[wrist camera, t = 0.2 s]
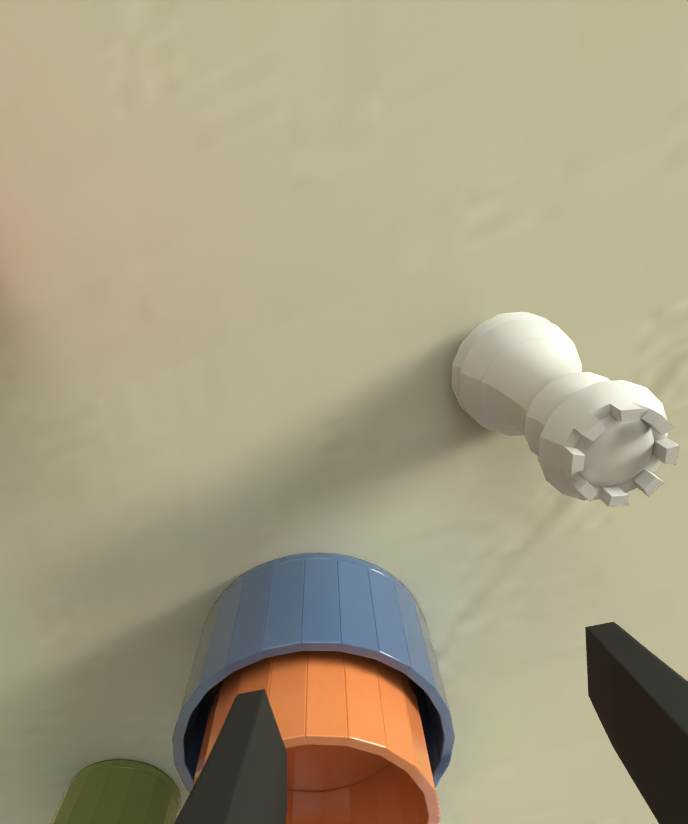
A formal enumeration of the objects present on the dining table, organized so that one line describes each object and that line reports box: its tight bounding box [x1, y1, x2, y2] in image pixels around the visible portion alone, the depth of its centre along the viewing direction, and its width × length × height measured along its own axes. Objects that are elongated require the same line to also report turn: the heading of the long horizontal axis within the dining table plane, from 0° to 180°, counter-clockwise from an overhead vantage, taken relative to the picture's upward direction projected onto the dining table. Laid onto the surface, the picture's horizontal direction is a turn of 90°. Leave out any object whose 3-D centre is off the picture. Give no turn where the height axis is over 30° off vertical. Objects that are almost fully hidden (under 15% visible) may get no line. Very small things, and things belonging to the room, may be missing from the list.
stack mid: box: [192, 651, 440, 824], centre depth 20 cm, size 8×8×8 cm
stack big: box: [173, 553, 454, 792], centre depth 21 cm, size 10×10×5 cm
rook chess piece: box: [452, 312, 679, 507], centre depth 15 cm, size 4×4×8 cm
